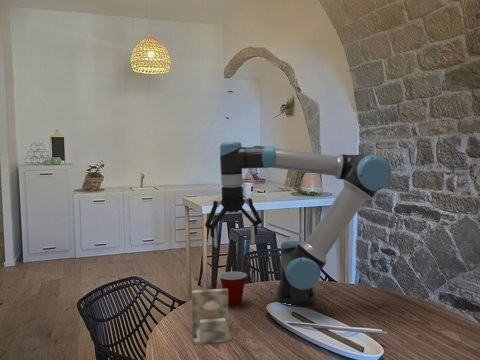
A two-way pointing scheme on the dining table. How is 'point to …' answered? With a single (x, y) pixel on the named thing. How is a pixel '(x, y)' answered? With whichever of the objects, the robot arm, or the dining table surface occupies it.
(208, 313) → the candle
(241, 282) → the plastic cup
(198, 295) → the beige u-shaped bracket
